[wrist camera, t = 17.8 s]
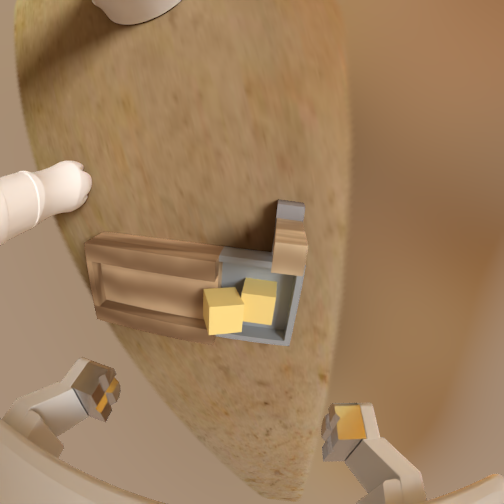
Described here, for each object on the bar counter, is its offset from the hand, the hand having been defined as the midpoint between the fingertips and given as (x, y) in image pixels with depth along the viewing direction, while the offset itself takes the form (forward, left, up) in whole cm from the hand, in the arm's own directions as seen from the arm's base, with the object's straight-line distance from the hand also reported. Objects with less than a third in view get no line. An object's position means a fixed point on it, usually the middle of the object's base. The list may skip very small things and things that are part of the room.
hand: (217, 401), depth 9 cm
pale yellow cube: (+10, +1, -24) cm, 26 cm away
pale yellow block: (+11, -3, -22) cm, 24 cm away
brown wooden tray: (+10, -13, -26) cm, 31 cm away
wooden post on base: (+1, +3, -26) cm, 27 cm away
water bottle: (-3, -27, -27) cm, 38 cm away
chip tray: (+10, +1, -26) cm, 28 cm away
